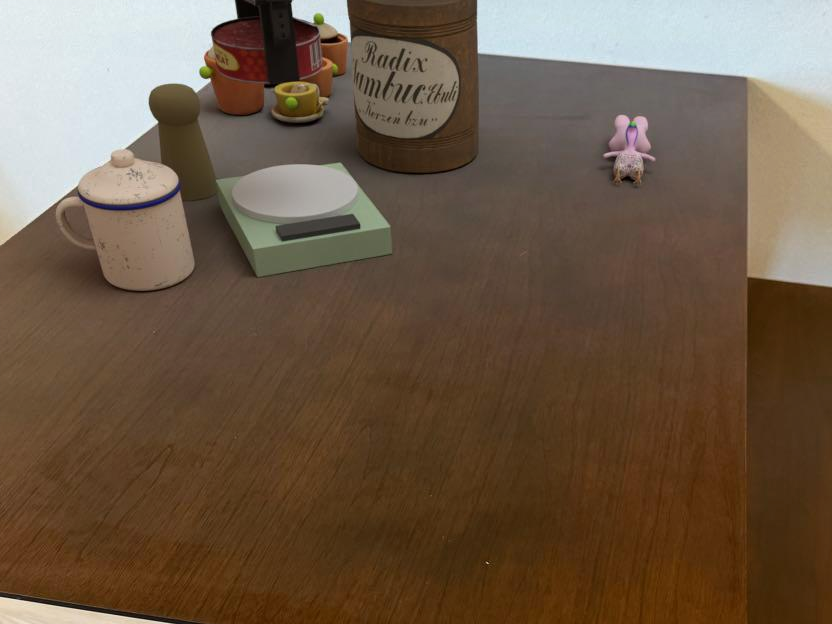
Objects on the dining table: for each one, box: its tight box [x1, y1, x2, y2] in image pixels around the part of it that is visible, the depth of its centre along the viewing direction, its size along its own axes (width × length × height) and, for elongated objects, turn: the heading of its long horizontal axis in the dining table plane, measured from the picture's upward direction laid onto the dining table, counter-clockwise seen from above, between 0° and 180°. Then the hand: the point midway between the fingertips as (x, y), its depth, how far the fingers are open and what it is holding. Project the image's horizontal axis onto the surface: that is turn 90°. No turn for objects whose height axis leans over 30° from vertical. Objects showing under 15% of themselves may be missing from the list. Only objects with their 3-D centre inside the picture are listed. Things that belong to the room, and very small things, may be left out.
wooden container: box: [346, 0, 480, 174], centre depth 112 cm, size 15×15×22 cm
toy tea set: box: [198, 12, 349, 124], centre depth 129 cm, size 26×16×10 cm, turn 174°
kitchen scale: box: [215, 162, 393, 278], centre depth 101 cm, size 17×14×4 cm
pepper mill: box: [148, 83, 218, 202], centre depth 105 cm, size 6×6×11 cm
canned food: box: [210, 0, 323, 85], centre depth 89 cm, size 11×10×10 cm
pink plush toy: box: [602, 114, 656, 185], centre depth 117 cm, size 6×6×15 cm
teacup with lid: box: [55, 148, 196, 292], centre depth 91 cm, size 12×9×12 cm
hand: (269, 62), depth 91 cm, fingers closed on canned food, 10 cm apart
